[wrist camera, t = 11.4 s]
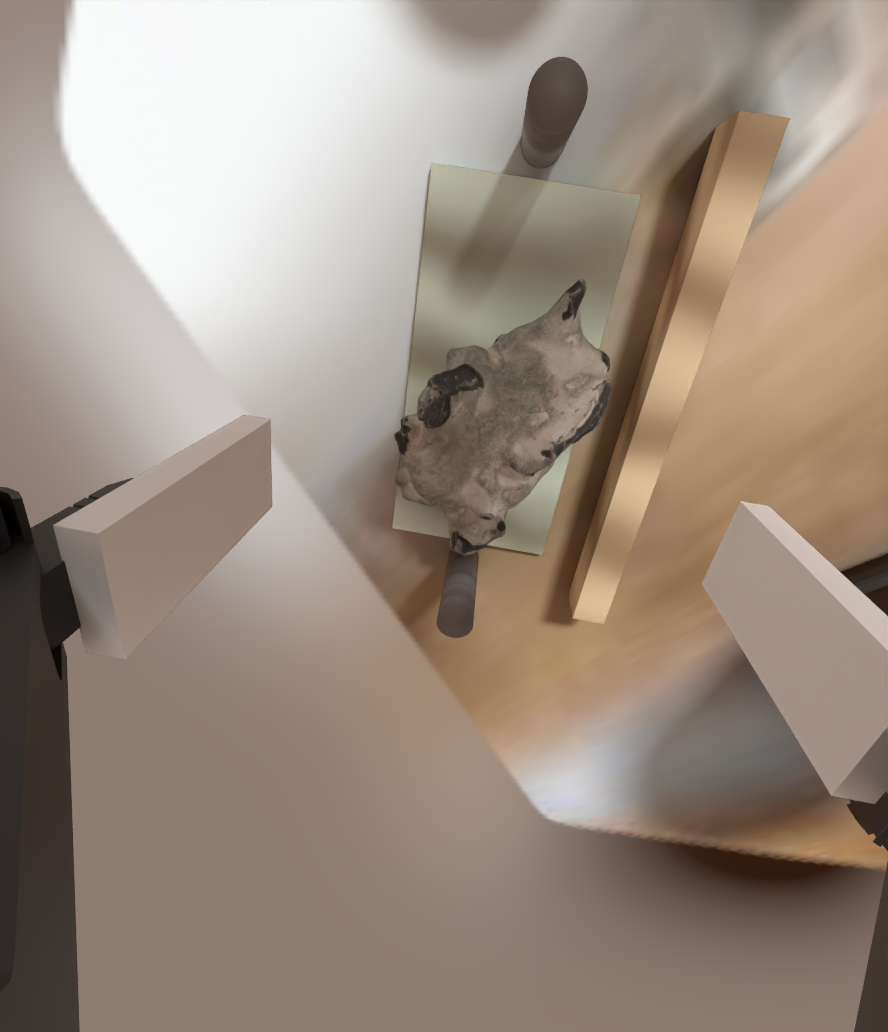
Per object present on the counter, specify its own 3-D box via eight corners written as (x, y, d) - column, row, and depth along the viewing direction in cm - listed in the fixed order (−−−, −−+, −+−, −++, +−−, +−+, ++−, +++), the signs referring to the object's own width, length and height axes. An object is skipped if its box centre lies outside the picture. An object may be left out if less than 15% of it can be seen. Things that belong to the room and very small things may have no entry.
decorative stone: (521, 564, 32) (483, 651, 23) (398, 501, 33) (317, 559, 24) (652, 314, 25) (671, 297, 16) (492, 248, 27) (428, 200, 18)
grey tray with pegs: (441, 85, 23) (418, 15, 16) (761, 133, 22) (862, 80, 16) (389, 563, 34) (363, 628, 28) (597, 600, 34) (618, 675, 28)
